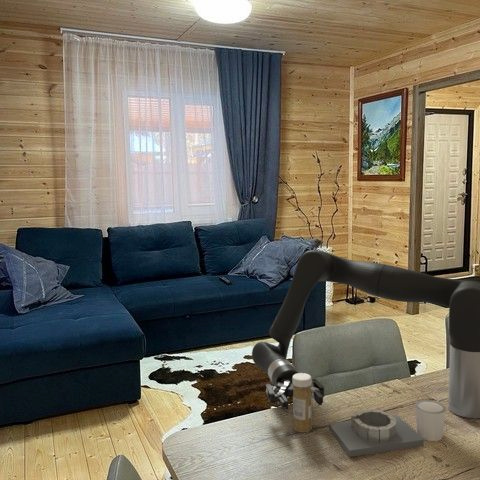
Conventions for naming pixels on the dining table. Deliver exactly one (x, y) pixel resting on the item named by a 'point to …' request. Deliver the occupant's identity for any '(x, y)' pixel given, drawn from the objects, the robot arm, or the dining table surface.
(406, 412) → the dining table surface
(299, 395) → the sprinkles bottle
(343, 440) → the socket plate
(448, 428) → the dining table surface
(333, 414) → the dining table surface
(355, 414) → the stone block collar
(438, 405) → the white tapered cup
